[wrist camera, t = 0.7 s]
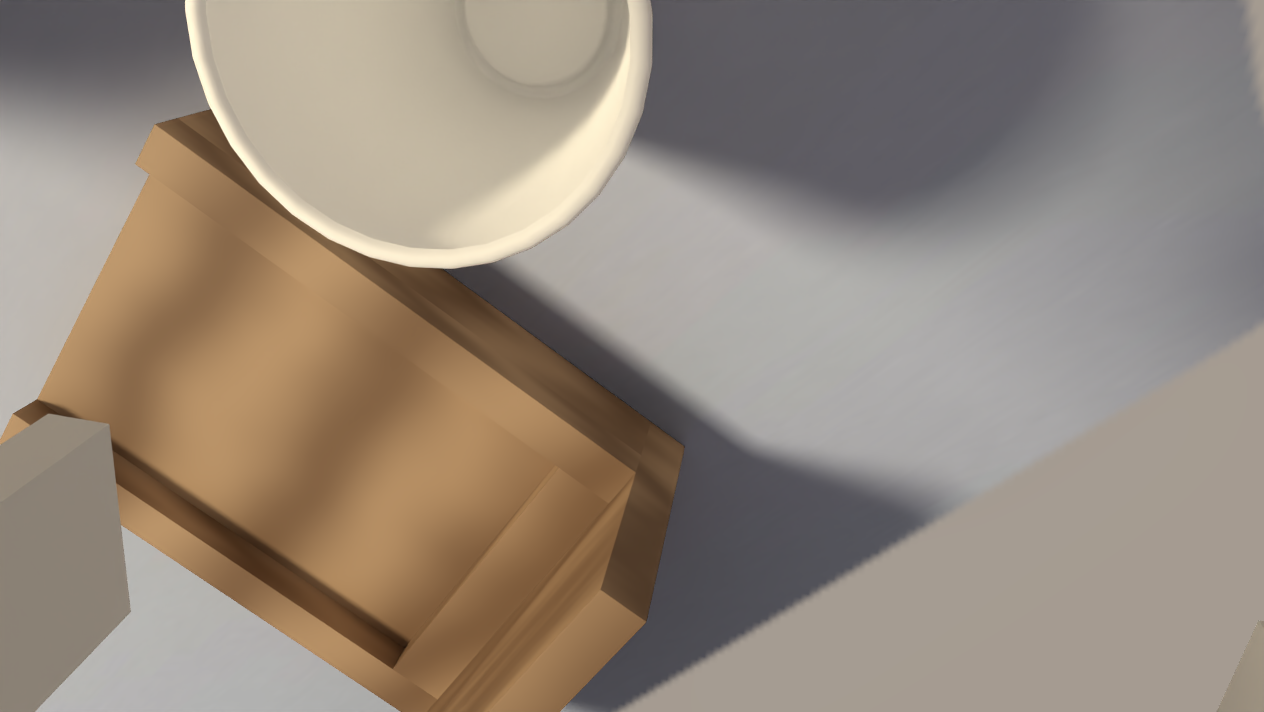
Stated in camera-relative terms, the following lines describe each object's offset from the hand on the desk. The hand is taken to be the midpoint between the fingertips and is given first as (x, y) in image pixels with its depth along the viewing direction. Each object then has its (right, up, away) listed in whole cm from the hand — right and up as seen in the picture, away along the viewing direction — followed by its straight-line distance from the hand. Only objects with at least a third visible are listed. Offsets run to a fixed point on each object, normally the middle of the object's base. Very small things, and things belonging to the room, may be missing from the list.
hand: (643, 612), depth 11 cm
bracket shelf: (-11, +1, +25) cm, 27 cm away
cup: (-3, +14, +19) cm, 23 cm away
